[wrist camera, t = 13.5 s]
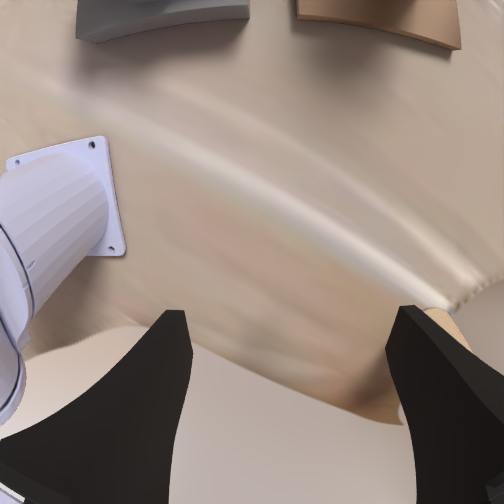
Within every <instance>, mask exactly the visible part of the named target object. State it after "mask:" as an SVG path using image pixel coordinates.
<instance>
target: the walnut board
mask: <svg viewBox="0 0 504 504" xmlns="http://www.w3.org/2000/svg"><path fill="white" fill-rule="evenodd" d="M296 8H297V19H304V20H316V21H326V22H335V23H343V24H350V25H356V26H362V27H368V28H373V29H378V30H383V31H387V32H392V33H396V34H400V35H404V36H408V37H412V38H415V39H419V40H422V41H425V42H429V43H432V44H435V45H438V46H441V47H444V48H447V49H450V50H461V36H460V26H459V17H458V10H457V3H456V0H296Z"/></svg>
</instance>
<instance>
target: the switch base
mask: <svg viewBox="0 0 504 504" xmlns="http://www.w3.org/2000/svg"><path fill="white" fill-rule="evenodd" d="M247 18H250V3H249V0H78V5H77V19H76V39H80V40H85V41H89V42H94V43H101V42H104V41H107V40H111V39H114V38H118V37H122V36H126V35H130V34H134V33H138V32H143V31H147V30H152V29H157V28H163V27H168V26H174V25H181V24H188V23H195V22H204V21H214V20H227V19H247Z"/></svg>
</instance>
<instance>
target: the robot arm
mask: <svg viewBox="0 0 504 504" xmlns="http://www.w3.org/2000/svg"><path fill="white" fill-rule="evenodd" d="M92 141H93V142H94V143H95V148H92V146H91V143H92ZM19 162H20V164H19ZM6 169H7V172H6V173H4V174H2V175H0V426H1V425H3V424H4V423H5V422H6V421H7V420H8V419H9V418H10V417H11V416H12V415H13V413H14V412H15V411H16V409H17V407H18V405H19V404H20V402H21V399H22V397H23V394H24V389H25V386H26V368H25V364H24V360H23V358H22V356H21V354H20V353H21V352H22V350H23V349H24V347H25V346H26V344H27V343H28V341H29V340H30V338H31V337H30V334H29V330H28V325H29V322H30V321H31V320H32V319H33V317H34V316H35V315H36V314H37V312H38V311H39V310H40V309H41V307H42V306H43V305H44V304H45V302H46V301H47V300H48V299H49V297H50V296H51V295H52V294H53V292H54V291H55V290H56V289H57V288H58V287H59V285H60V284H61V283H62V282H63V281H64V279H65V278H66V277H67V276H68V275H69V274H70V273H71V271H72V270H73V269H74V268H75V267H76V266H77V265H78V264H79V262H80V261H81V260H82V259H83V258H84V257H85V256H122V255H123V254H124V253H125V251H126V245H125V241H124V236H123V231H122V226H121V222H120V216H119V211H118V206H117V200H116V195H115V189H114V182H113V176H112V169H111V162H110V154H109V146H108V140H107V138H106V137H105V136H102V135H100V136H95V137H90V138H85V139H80V140H75V141H71V142H67V143H62V144H58V145H54V146H50V147H46V148H43V149H39V150H35V151H32V152H28V153H25V154H21V155H18V156H15V157H12V158H9V159H8V160H7V161H6ZM110 246H112V247H113V248H114V250H115V251H114V250H112V249H111V248H110ZM385 350H386V355H387V360H388V364H389V368H390V373H391V376H392V378H393V381H394V384H395V387H396V390H397V393H398V396H399V398H400V401H401V404H402V407H403V410H404V413H405V416H406V419H407V422H408V426H409V430H410V434H411V440H412V446H413V452H414V459H415V469H416V485H417V486H416V487H417V502H416V504H504V376H503V375H502V374H500V373H499V372H497V371H496V370H494V369H493V368H492V367H490V366H488V365H487V364H486V363H484V362H483V361H482V360H480V359H479V358H478V357H477V356H475V355H474V354H473V353H472V352H470V351H469V350H468V349H467V348H465V347H464V346H463V345H462V344H461V343H459V342H458V341H457V340H456V339H455V338H454V337H452V336H451V335H450V334H449V333H448V332H447V331H445V330H444V329H443V328H442V327H441V326H440V325H439V324H437V323H436V322H435V321H434V320H433V319H432V318H430V317H429V316H428V315H427V314H426V313H424V312H423V311H422V310H421V309H419V308H418V307H417V306H415V305H408V306H400V307H399V310H398V313H397V316H396V319H395V322H394V325H393V328H392V330H391V333H390V336H389V339H388V341H387V344H386V347H385ZM192 359H193V350H192V346H191V341H190V336H189V331H188V327H187V322H186V317H185V312H184V310H166V311H165V312H164V313H163V314H162V315H161V316H160V317H159V318H158V319H157V321H156V322H155V323H154V324H153V325H152V326H151V327H150V329H149V330H148V331H147V332H146V333H145V334H144V335H143V336H142V338H141V339H140V340H139V341H138V342H137V343H136V344H135V345H134V346H133V347H132V349H131V350H130V351H129V352H128V353H127V354H126V355H125V356H124V357H123V358H122V359H121V360H120V361H119V362H118V363H117V364H116V365H115V366H114V367H113V368H112V369H111V370H110V371H109V372H108V373H107V374H106V375H104V376H103V377H102V378H101V379H100V380H99V381H98V382H97V383H95V384H94V385H93V386H92V387H91V388H89V389H88V390H87V391H86V392H85V393H83V394H82V395H81V396H79V397H78V398H76V399H75V400H74V401H72V402H71V403H69V404H68V405H66V406H65V407H63V408H62V409H60V410H59V411H57V412H56V413H54V414H52V415H51V416H49V417H47V418H46V419H44V420H42V421H40V422H38V423H37V424H35V425H33V426H31V427H29V428H27V429H24V430H22V431H20V432H18V433H15V434H13V435H11V436H8V437H6V438H3V439H1V441H0V482H1V483H2V484H4V485H5V486H7V487H8V488H10V489H11V490H13V491H14V492H16V493H18V494H19V495H21V496H23V497H24V498H25V500H24V502H22V501H20V500H18V499H17V498H15V497H13V496H12V495H10V494H9V493H7V492H6V491H4V490H2V489H1V488H0V504H168V503H169V484H170V473H171V463H172V454H173V446H174V440H175V435H176V430H177V427H178V423H179V419H180V415H181V411H182V408H183V404H184V400H185V396H186V392H187V388H188V384H189V380H190V374H191V367H192Z"/></svg>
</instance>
